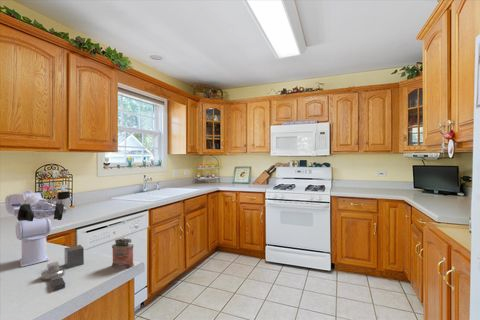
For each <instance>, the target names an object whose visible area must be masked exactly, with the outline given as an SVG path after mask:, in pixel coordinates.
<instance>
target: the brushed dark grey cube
mask: <svg viewBox="0 0 480 320" xmlns="http://www.w3.org/2000/svg"><path fill="white" fill-rule="evenodd" d="M84 248H85V247H83V246H82V245H81V244H77V245H73V246H68V247H64V250H63V251H64V266H65V267H66V268H67V269H71V268H74V267H79V266H81V265H84V264H85V260H84V259H85V257H84V254H85V253H84V252H85V251H84V250H85V249H84Z"/></svg>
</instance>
